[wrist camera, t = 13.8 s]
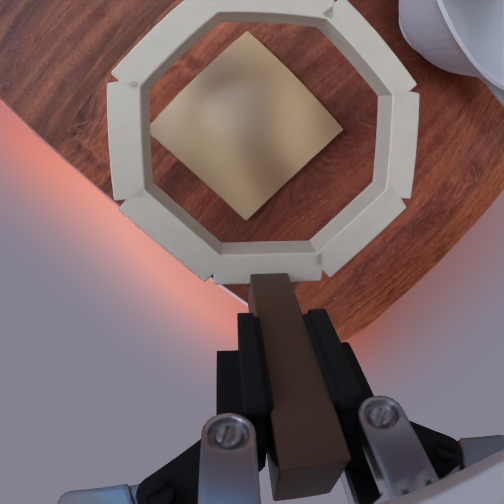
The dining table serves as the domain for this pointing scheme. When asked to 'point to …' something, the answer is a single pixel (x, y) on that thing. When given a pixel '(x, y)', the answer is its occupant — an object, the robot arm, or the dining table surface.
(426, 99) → the dining table surface
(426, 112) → the dining table surface
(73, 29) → the dining table surface
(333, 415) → the ring
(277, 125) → the cork pad
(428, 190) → the dining table surface
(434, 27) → the teacup
